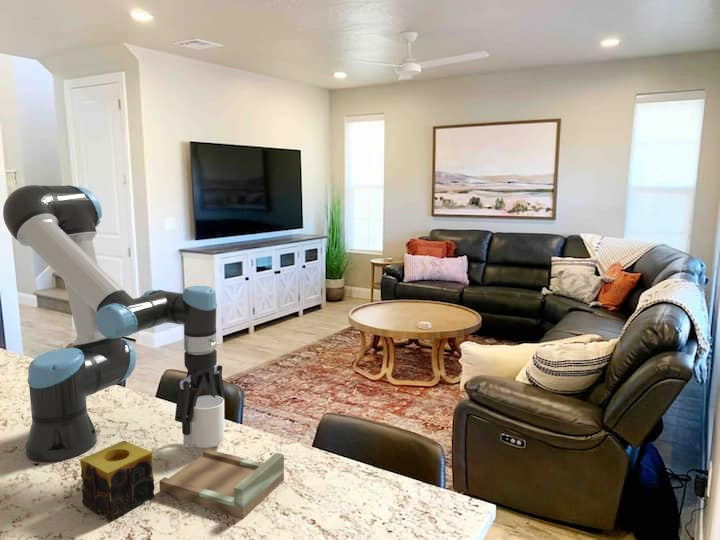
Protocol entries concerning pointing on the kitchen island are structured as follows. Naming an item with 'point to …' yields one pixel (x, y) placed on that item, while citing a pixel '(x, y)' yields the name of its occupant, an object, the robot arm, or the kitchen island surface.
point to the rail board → (225, 482)
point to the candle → (117, 479)
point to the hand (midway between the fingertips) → (201, 437)
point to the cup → (208, 421)
